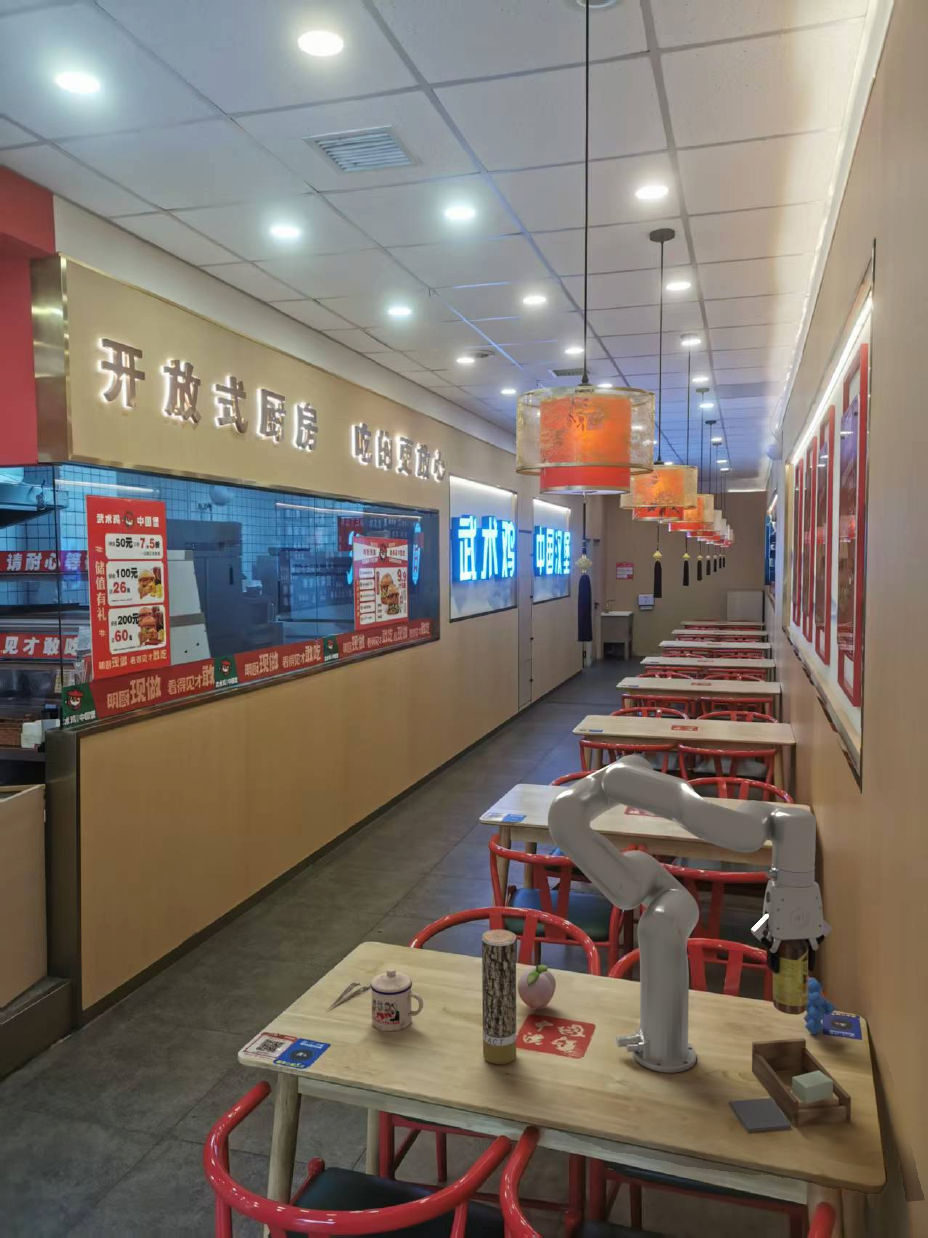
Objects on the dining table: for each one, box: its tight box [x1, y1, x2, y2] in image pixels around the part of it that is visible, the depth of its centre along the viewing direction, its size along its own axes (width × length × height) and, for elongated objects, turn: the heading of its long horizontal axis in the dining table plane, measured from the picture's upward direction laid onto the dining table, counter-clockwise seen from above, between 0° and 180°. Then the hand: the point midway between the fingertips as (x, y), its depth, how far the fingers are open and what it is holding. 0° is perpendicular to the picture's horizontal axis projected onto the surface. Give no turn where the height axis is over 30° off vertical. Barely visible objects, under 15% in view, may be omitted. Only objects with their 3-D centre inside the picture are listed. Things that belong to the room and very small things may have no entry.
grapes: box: [803, 977, 836, 1036], centre depth 186 cm, size 12×7×12 cm, turn 165°
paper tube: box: [481, 929, 517, 1065], centre depth 178 cm, size 7×7×25 cm
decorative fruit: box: [516, 964, 557, 1010], centre depth 198 cm, size 9×8×10 cm
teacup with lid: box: [370, 967, 424, 1032], centre depth 192 cm, size 12×9×12 cm
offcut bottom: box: [790, 1090, 839, 1109], centre depth 160 cm, size 8×4×4 cm, turn 97°
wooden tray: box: [751, 1038, 852, 1127], centre depth 165 cm, size 11×17×6 cm, turn 6°
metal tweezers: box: [325, 981, 371, 1014], centre depth 203 cm, size 17×5×2 cm, turn 151°
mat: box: [728, 1097, 792, 1133], centre depth 159 cm, size 8×8×1 cm
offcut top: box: [791, 1071, 833, 1104], centre depth 160 cm, size 6×4×3 cm, turn 110°
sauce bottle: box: [772, 939, 809, 1015], centre depth 166 cm, size 7×6×20 cm
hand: (790, 968), depth 166 cm, fingers closed on sauce bottle, 6 cm apart
